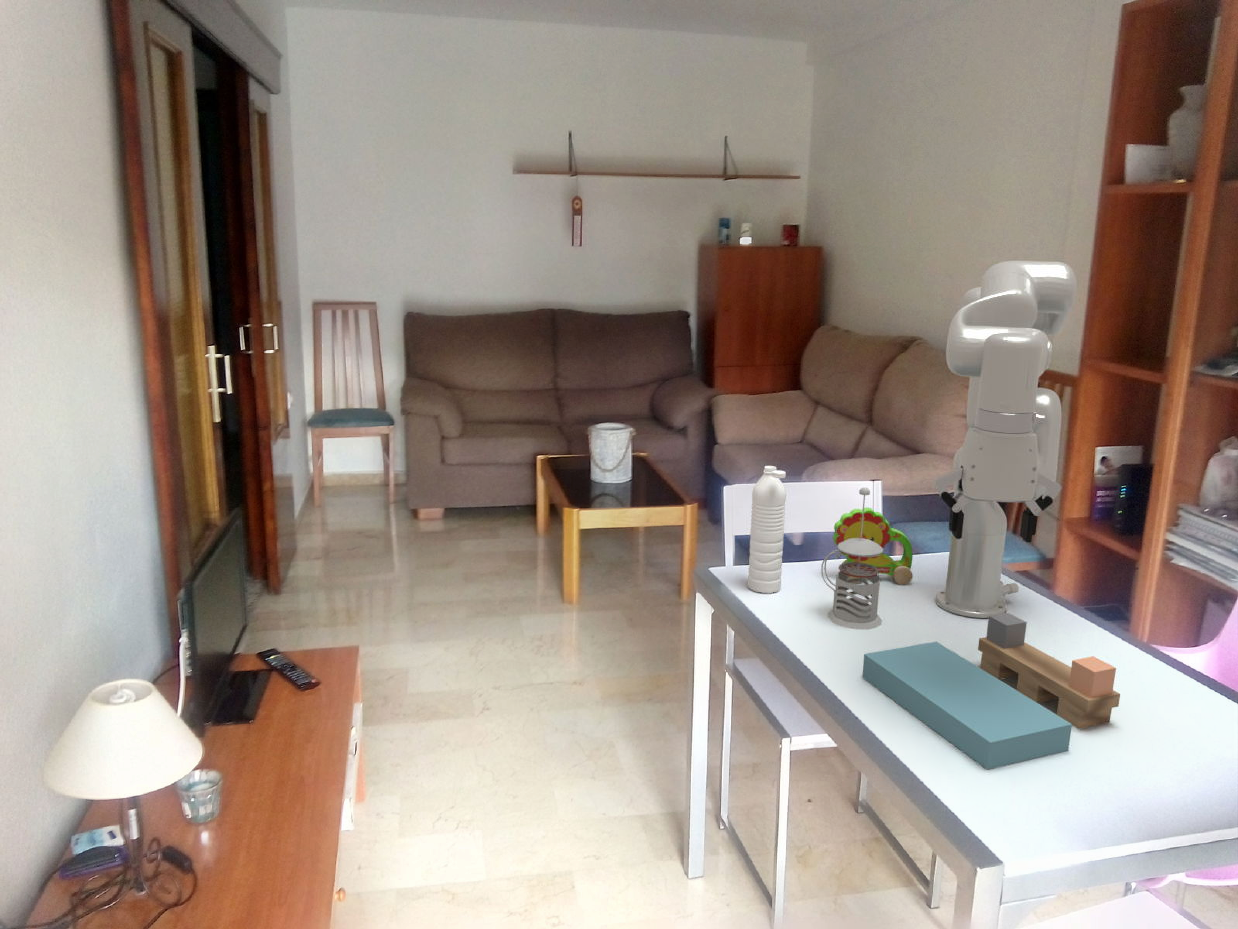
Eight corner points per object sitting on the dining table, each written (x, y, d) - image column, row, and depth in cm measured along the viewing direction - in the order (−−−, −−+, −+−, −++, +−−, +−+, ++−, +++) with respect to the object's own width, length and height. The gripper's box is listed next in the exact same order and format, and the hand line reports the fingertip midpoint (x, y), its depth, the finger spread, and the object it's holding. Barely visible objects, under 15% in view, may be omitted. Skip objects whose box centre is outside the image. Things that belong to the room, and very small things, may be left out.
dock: (934, 663, 153) (936, 641, 152) (1068, 750, 128) (1072, 724, 127) (862, 677, 149) (864, 654, 148) (987, 769, 123) (990, 742, 122)
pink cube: (1089, 681, 137) (1093, 656, 136) (1112, 693, 134) (1116, 668, 133) (1068, 685, 136) (1072, 660, 135) (1091, 698, 132) (1094, 672, 131)
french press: (873, 633, 165) (884, 498, 159) (810, 619, 171) (819, 488, 165) (889, 615, 173) (900, 485, 167) (828, 602, 179) (837, 476, 173)
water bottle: (743, 583, 188) (748, 463, 182) (773, 581, 189) (779, 461, 183) (758, 599, 180) (765, 474, 173) (790, 597, 181) (797, 472, 175)
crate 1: (1005, 635, 153) (1008, 612, 152) (1023, 645, 149) (1026, 622, 148) (986, 638, 151) (988, 616, 150) (1004, 648, 148) (1006, 625, 147)
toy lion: (906, 576, 193) (912, 506, 189) (912, 586, 187) (919, 514, 184) (828, 573, 194) (833, 503, 190) (832, 583, 188) (837, 511, 185)
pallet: (1004, 661, 155) (1008, 633, 154) (1115, 725, 135) (1120, 693, 134) (975, 666, 153) (979, 638, 151) (1083, 732, 133) (1088, 700, 132)
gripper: (1059, 419, 133) (1044, 532, 137) (934, 415, 135) (924, 527, 139) (1078, 429, 126) (1062, 549, 130) (946, 425, 128) (934, 543, 132)
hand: (990, 537), depth 135 cm, fingers open, 9 cm apart
